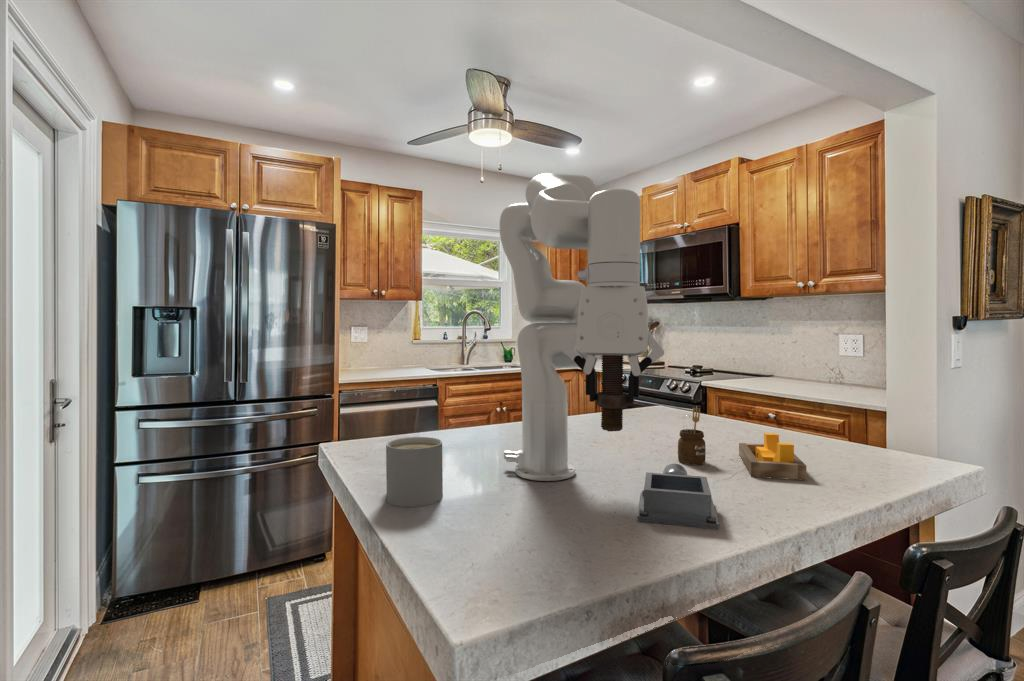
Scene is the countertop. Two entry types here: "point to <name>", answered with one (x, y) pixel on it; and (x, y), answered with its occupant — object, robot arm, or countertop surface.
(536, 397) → the robot arm
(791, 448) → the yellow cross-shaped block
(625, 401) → the bolt
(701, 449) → the utensil holder
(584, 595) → the countertop surface
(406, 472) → the coffee mug
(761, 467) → the parts corral
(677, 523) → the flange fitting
